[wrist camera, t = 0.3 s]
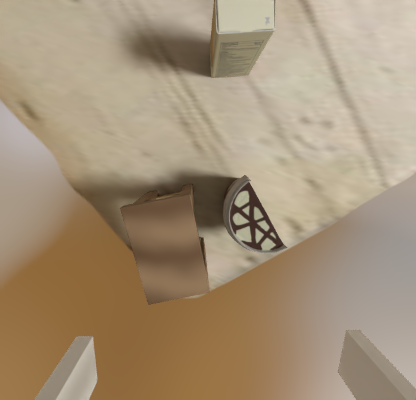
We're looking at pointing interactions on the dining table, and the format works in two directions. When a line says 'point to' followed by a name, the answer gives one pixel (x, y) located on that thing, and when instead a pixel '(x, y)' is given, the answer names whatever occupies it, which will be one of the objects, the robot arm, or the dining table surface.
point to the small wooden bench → (167, 245)
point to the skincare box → (239, 35)
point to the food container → (249, 219)
